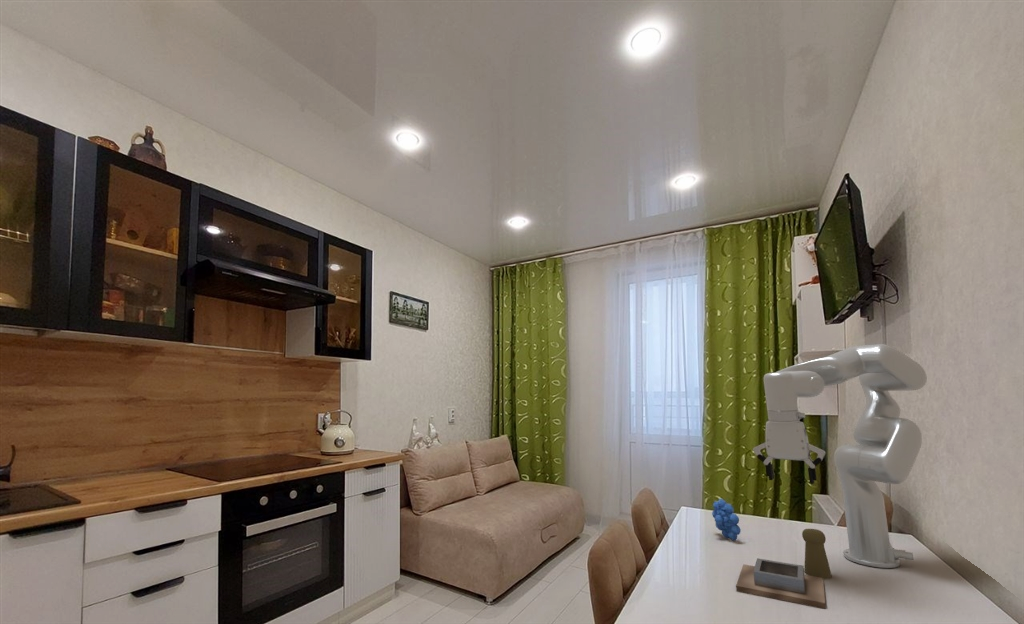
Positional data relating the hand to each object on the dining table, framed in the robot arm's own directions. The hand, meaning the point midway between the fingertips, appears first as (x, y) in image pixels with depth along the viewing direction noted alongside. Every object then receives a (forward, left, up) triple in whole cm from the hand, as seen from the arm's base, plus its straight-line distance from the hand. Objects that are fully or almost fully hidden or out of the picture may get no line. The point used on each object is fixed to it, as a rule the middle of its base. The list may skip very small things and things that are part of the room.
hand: (791, 481), depth 125 cm
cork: (-4, -2, -24) cm, 24 cm away
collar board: (+4, +12, -23) cm, 27 cm away
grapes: (+21, -21, -24) cm, 38 cm away
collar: (+4, +12, -22) cm, 26 cm away
